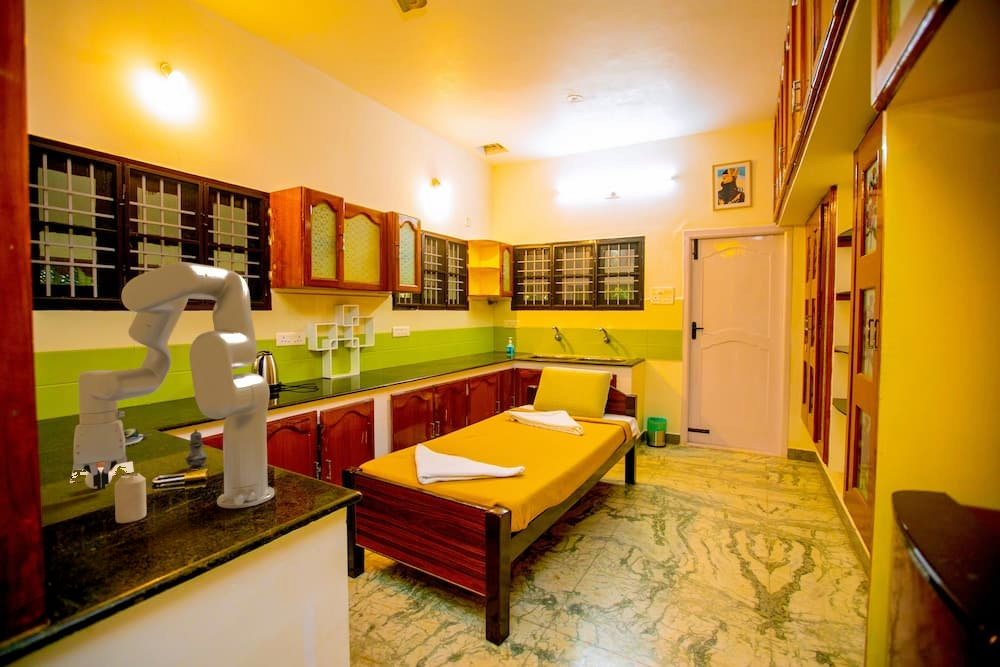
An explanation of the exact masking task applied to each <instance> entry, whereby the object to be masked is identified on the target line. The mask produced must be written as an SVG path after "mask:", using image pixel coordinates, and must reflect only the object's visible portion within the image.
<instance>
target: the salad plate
mask: <svg viewBox="0 0 1000 667" xmlns="http://www.w3.org/2000/svg"><path fill="white" fill-rule="evenodd" d="M149 435H150V434H149V433H146V434H141V433H140V434H139V430H138V429H137V428H136V427H135V428H134V427H132V428H128V429H124V436H125V447H129V446H128V445H130V446H133V445H132V444H134V445H137V444H138V443H140V442H141V441H143V440H144V438H146V437H148V436H149ZM136 443H137V444H136Z"/></svg>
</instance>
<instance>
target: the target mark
mask: <svg viewBox="0 0 1000 667" xmlns="http://www.w3.org/2000/svg"><path fill="white" fill-rule="evenodd" d="M119 466H121V467H126V468H120V469H122V470H124V471H125V472H126V471H127V472H126V473H130V474H133V473H132V472H134V473H135V470H134V462H133V461H132V460H131V461H126V462H123V463H121V464H117V465H116V466H114V469H113V470H112V471H111V473H112V477H115V476H114V475H116V474H115V473H116V472H115V471H117V468H118V467H119ZM82 471H83V470H82ZM88 473H89V472H87V471H86V472H80V475H87V474H88ZM76 474H77V472H75V473H73V472H72V473H71V476H73V477H72V478H76V477H77V476H78V475H77V476H74V475H76ZM71 480H72V479H71V478H70V480H69V484H74V483H73V482H75V481H71Z"/></svg>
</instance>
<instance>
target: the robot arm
mask: <svg viewBox="0 0 1000 667" xmlns="http://www.w3.org/2000/svg"><path fill="white" fill-rule="evenodd" d="M250 293H251V292H250V289H249V286H248V283H247V281H246V280H245V279H244V278H243V276H241V275H240V274H239V273H238V272H235V271H234V270H230V269H227V268H223V267H219V266H214V265H208V264H207V265H206V264H199V263H193V262H186V261H177V262H171V263H168V264H165V265H163V266H160V267H156V268H155V269H153V270H149V271H146V272H144V273H141V274H140V275H137V276H134V277H133V278H132V279H130V280H129V281H128V282H127V283H126V284H125V285H124V287H123V288H122V291H121V302H122V303H123V306H124V307H125V308H126V309H128V310H129V311H131V312H133V313H136V314H135V316H134V319H133V320H132V322H131V324H130V326H129V328H128V330H127V331H128V336H129V337H130V338H131V339H132V340H134V341H135V342H136V343H138V344H141V345H143V346H145V347H146V348H147V349H146V350H147V351H146V357H145V358H144V361H143V362H142V363H141V366H140V367H139V368H138V367H137V368H131V369H129V368H128V369H122V370H121V369H120V370H110V369H109V370H108V369H103V370H102V369H100V370H98V369H97V370H89V371H84V372H82V373H80V374H79V375H78V380H77V382H78V383H77V384H78V408H79V409H78V410H79V412H78V413H79V414H78V416H79V423H78V424H77V425H76V426H75V429H74V435H73V436H74V438H73V464H72V468H71V469H72V471H74V470H86V471H87V472H89V473H91V474H92V475H93V486H94V487H95V486H97V489H96V491H99V490H105V489H106V486H107V484H108V485H109V484H110V483H109V475H108V473H109V471H110V470H111V469H112V468H113V467H114V466H116V465H117V464H121V463H125V462H128V458H127V455H126V446H125V436H124V430H125V428H124V423H123V421H122V420H120V418H122V417H126V415H125V414H126V412H125V411H124V410H122V411H121V410H118V403H119V401H123V400H129V399H133V398H134V399H135V398H139V397H145V396H150V395H152V394H154V393H155V392H157V390H159V388H161V386H162V385H163V383H164V381H165V379H166V378H167V375H168V373H169V371H170V369H171V364H172V354H171V353H172V352H171V350H170V347H169V344H168V343H169V339H170V337H171V335H172V334H173V332H174V329H175V328H176V326H177V324H178V322H179V319H180V318H181V316H182V314H183V312H184V310H185V308H186V306H187V303H188V301H189V299H192V300H212V301H215V304H214V306H213V309H212V322H213V330H208V331H206V332H203V333H201V334H199V335H197V336H196V338H195V339H194V340H193V341H192V343H191V345H190V349H189V365H190V372H191V378H192V383H193V384H192V385H193V390H194V396H195V402H196V405H197V407H198V408H199V411H200V412H201V413H202V414H203V415H204V416H205V417H207V418H209V419H212V420H222V419H224V420H225V421H224V424H223V430H222V437H223V438H222V450H223V451H222V452H223V456H222V457H223V485H224V486H223V489H224V490H223V492H224V493H222V494H221V495H219V496H218V497H217V499H216V503H217V506H218V507H220V508H223V509H243V508H248V507H252V506H257V505H259V504H263V503H265V502H268V501H269V500H271V499H272V498H273V497H275V488H273V487H271V486H269V484H268V448H267V447H268V445H267V420H268V419H267V417H268V409H269V408H268V407H269V402H270V396H271V395H270V394H271V393H270V386H269V383H268V382H267V380H266V378H264V377H263V376H261V375H260V374H257V373H255V372H254V373H253V372H241V373H236V374H234V372H233V370H236V369H237V370H238V369H242V368H245V367H249V366H250V365H252V364H253V363H254V362H255V361H256V359H257V357H258V346H257V340H256V334H255V328H254V320H253V315H252V307H251V296H250ZM100 462H105V465H104V469H103V470H102V472H99V470H98V468H97V464H96V463H100ZM105 485H106V486H105ZM101 486H102V488H101Z"/></svg>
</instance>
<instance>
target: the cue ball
mask: <svg viewBox="0 0 1000 667" xmlns="http://www.w3.org/2000/svg"><path fill="white" fill-rule="evenodd" d="M103 469H104V468H103V467H100V468H98V470H99V472H102V470H103ZM108 475H109V484H110V483H111V481H112V479H113V476H112V473H111V471H109V473H108ZM84 482H85V485H86V486H87V487H88V488H90V489H93V490H94V489H96V490H97V486H95V487H94V486H93V475H92V474H91V473H88V474H87V475H86V478H85V481H84ZM109 484H107V485H109ZM107 485H105V487H106V486H107ZM101 489H102V486H101Z"/></svg>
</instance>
